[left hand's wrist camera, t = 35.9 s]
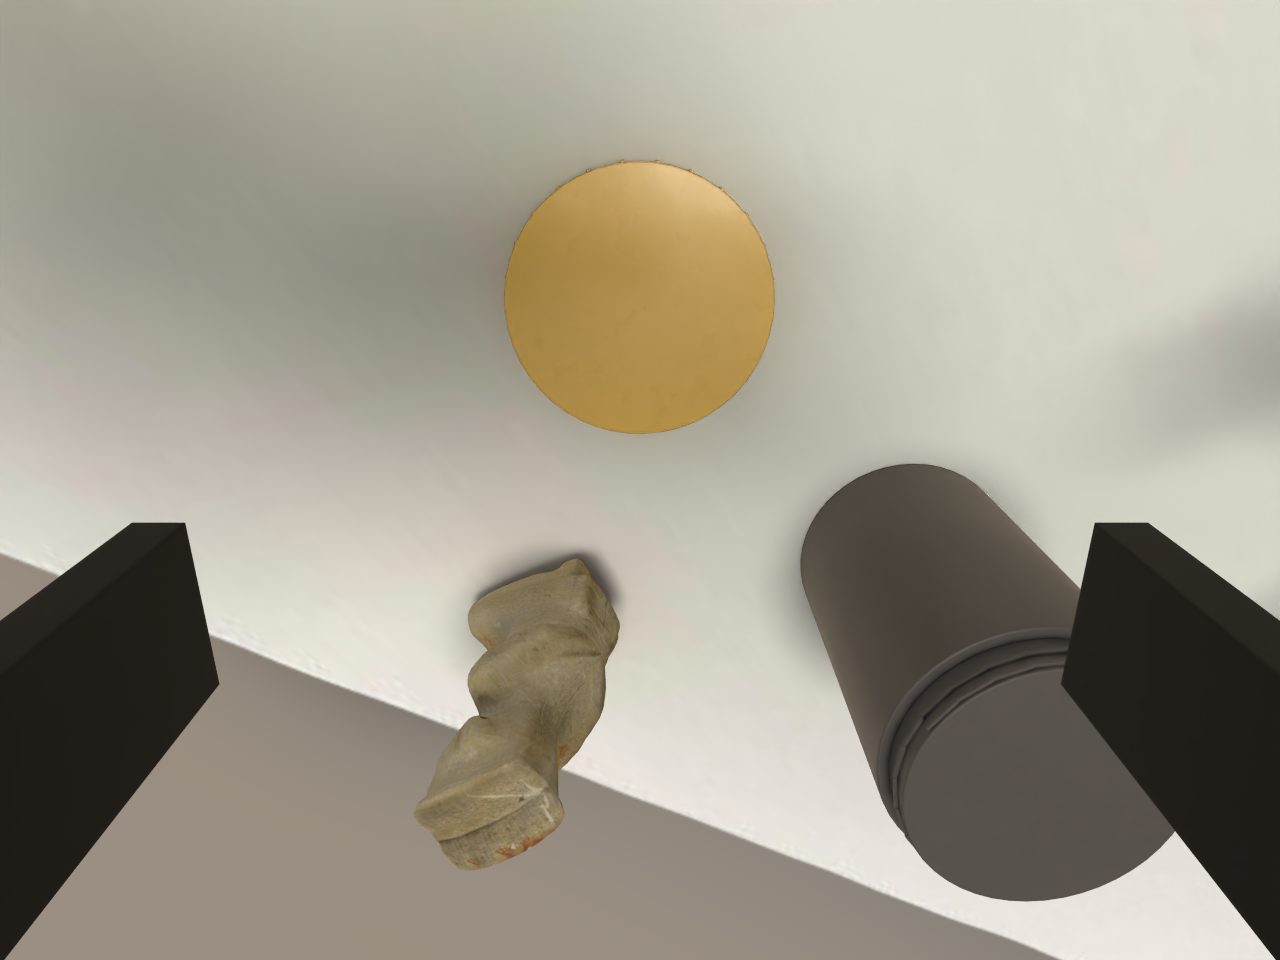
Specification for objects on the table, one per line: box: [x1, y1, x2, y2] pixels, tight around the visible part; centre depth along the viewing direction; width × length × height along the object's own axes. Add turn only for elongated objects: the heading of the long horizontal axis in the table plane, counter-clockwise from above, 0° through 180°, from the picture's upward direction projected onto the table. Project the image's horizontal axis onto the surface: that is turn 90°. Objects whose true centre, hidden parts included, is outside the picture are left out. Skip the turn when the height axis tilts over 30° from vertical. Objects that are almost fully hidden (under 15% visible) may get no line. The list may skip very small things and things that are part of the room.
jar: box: [801, 464, 1175, 901], centre depth 35 cm, size 10×10×17 cm
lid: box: [504, 160, 775, 434], centre depth 37 cm, size 12×12×2 cm
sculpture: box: [413, 558, 620, 870], centre depth 37 cm, size 6×7×15 cm
